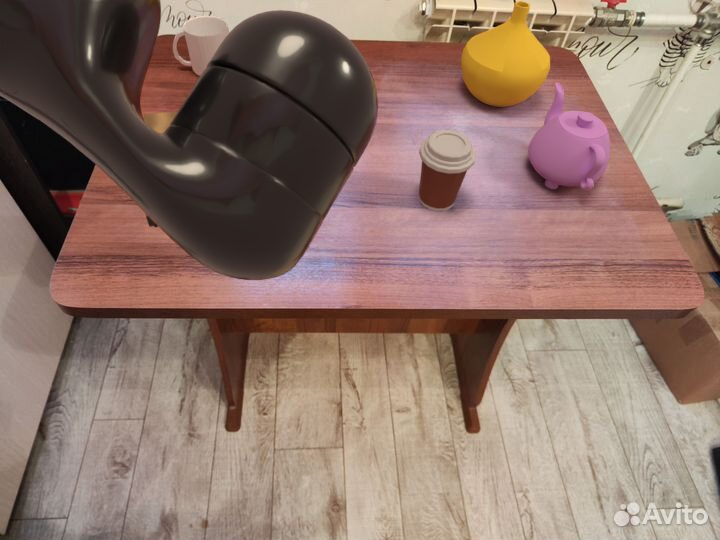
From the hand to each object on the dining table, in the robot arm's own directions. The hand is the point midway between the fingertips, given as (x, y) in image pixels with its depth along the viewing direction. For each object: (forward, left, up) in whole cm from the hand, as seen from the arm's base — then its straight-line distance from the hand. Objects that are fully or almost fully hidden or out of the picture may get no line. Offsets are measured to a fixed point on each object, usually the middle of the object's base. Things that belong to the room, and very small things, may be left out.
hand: (221, 198), depth 51 cm
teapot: (+61, +20, -23) cm, 69 cm away
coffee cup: (+35, +17, -23) cm, 46 cm away
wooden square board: (-9, +45, -23) cm, 52 cm away
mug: (-1, +67, -23) cm, 71 cm away
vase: (+60, +46, -23) cm, 79 cm away
